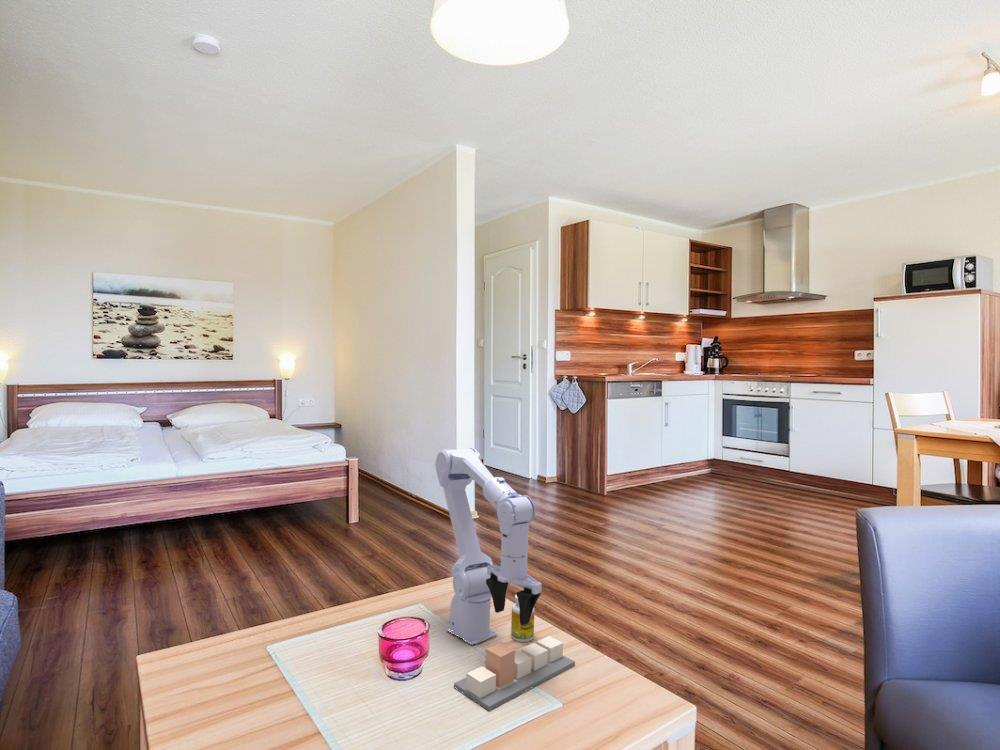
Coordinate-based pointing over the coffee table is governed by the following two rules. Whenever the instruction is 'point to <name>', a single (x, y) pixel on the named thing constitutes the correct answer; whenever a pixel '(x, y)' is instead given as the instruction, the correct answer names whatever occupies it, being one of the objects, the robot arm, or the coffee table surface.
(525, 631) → the supplement bottle
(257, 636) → the coffee table surface
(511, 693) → the block set board
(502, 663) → the terracotta block
